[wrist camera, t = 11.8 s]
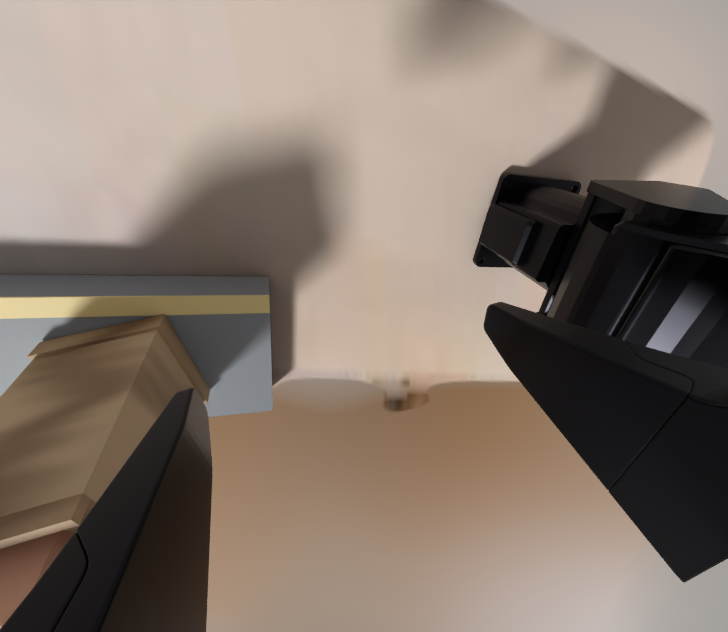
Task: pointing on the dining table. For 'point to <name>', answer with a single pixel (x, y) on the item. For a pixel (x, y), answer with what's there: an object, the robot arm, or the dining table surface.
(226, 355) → the dock
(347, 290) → the dining table surface
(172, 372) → the open wooden bin
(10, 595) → the block
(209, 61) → the dining table surface
